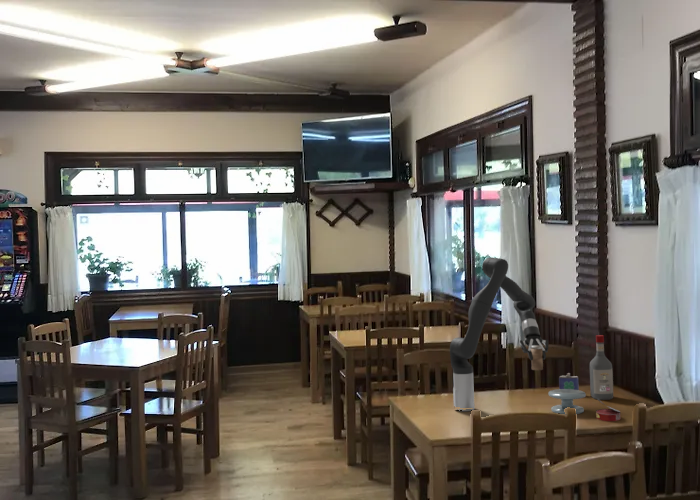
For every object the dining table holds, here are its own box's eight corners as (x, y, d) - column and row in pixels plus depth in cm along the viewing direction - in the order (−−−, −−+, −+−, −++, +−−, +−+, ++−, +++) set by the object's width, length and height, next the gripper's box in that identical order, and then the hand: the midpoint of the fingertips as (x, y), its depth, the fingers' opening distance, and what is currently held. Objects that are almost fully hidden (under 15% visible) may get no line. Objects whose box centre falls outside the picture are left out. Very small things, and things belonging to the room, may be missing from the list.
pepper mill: (533, 370, 328) (532, 347, 327) (530, 368, 333) (529, 345, 333) (544, 370, 328) (543, 346, 327) (541, 367, 333) (540, 344, 333)
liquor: (614, 399, 332) (612, 336, 331) (595, 400, 332) (593, 337, 331) (608, 395, 341) (606, 333, 340) (589, 395, 341) (587, 334, 340)
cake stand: (554, 415, 308) (554, 397, 307) (545, 406, 324) (544, 389, 323) (591, 414, 307) (590, 396, 307) (579, 405, 323) (578, 388, 323)
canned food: (600, 426, 305) (601, 403, 309) (624, 426, 299) (624, 403, 303) (590, 419, 298) (591, 396, 302) (614, 419, 291) (615, 396, 295)
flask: (578, 393, 346) (577, 372, 346) (579, 395, 343) (578, 373, 343) (559, 393, 348) (558, 372, 348) (559, 395, 345) (558, 373, 345)
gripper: (517, 325, 337) (524, 354, 326) (546, 324, 337) (554, 353, 326) (514, 335, 343) (521, 364, 331) (544, 334, 343) (551, 363, 331)
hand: (538, 358), depth 328 cm, fingers closed on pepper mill, 5 cm apart
